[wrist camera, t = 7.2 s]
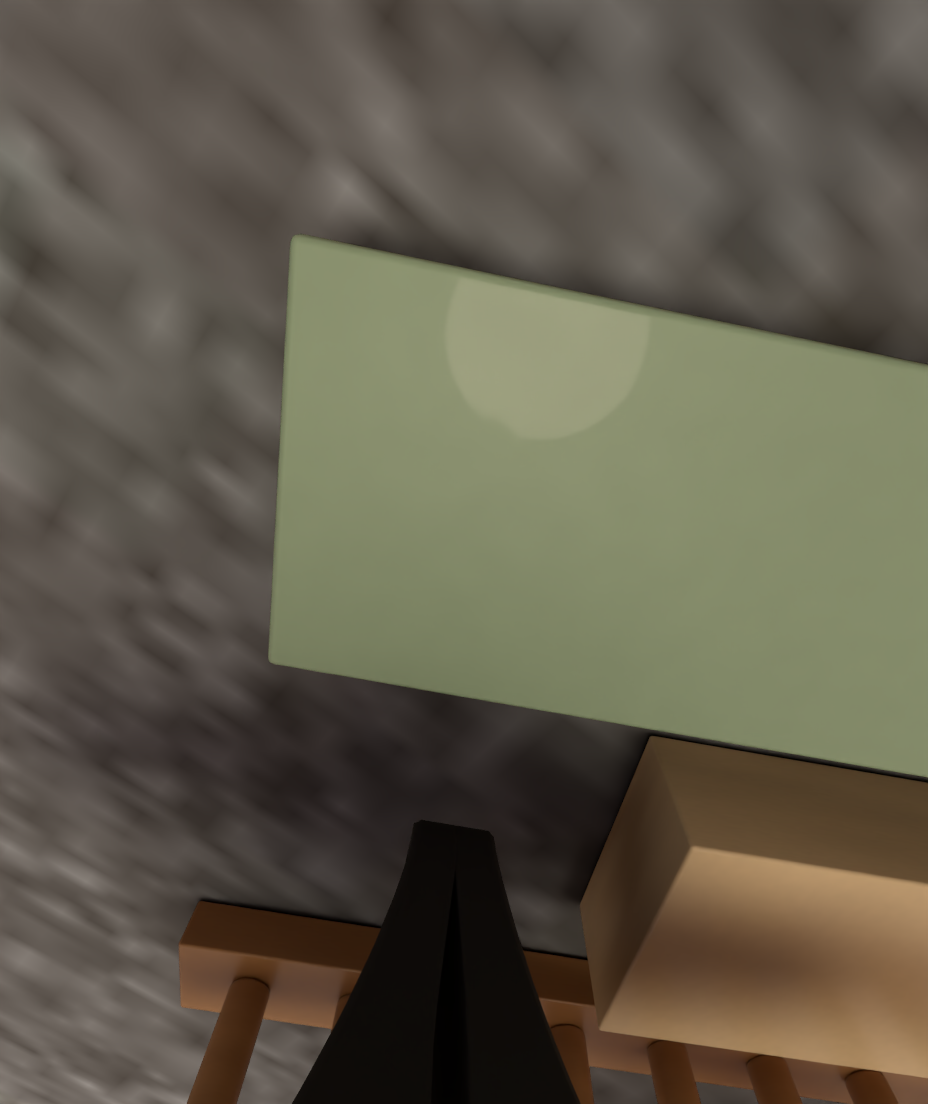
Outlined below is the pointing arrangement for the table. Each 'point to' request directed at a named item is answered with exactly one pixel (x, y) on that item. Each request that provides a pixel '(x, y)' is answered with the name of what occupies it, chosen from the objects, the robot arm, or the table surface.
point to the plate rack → (561, 983)
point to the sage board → (600, 509)
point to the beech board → (764, 909)
